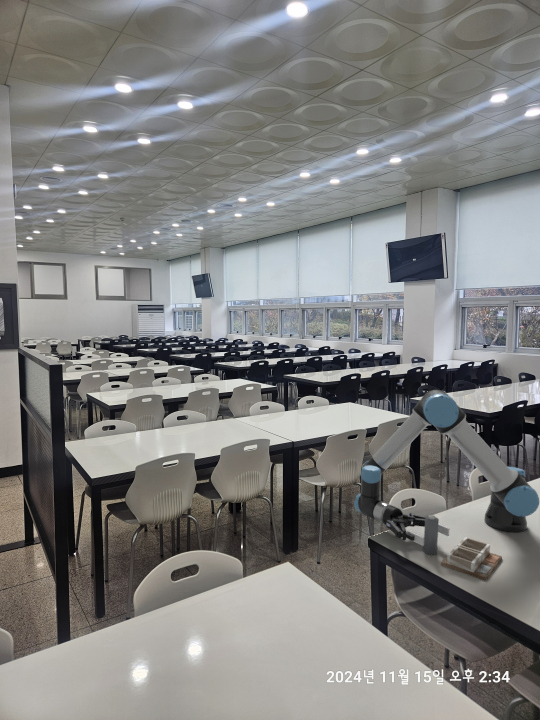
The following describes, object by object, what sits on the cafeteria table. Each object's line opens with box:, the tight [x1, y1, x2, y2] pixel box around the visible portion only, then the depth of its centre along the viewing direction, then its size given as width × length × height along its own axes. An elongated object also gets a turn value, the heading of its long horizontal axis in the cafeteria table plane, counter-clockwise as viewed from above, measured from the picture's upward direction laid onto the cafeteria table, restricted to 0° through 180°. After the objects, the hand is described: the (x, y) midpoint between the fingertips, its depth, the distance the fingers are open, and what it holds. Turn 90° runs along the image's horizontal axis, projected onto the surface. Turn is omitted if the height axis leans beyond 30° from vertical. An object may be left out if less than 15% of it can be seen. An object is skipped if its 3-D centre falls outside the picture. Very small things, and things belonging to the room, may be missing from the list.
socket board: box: [440, 536, 503, 581], centre depth 156 cm, size 18×14×4 cm
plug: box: [423, 514, 440, 556], centre depth 162 cm, size 4×4×13 cm
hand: (436, 536), depth 160 cm, fingers open, 13 cm apart
